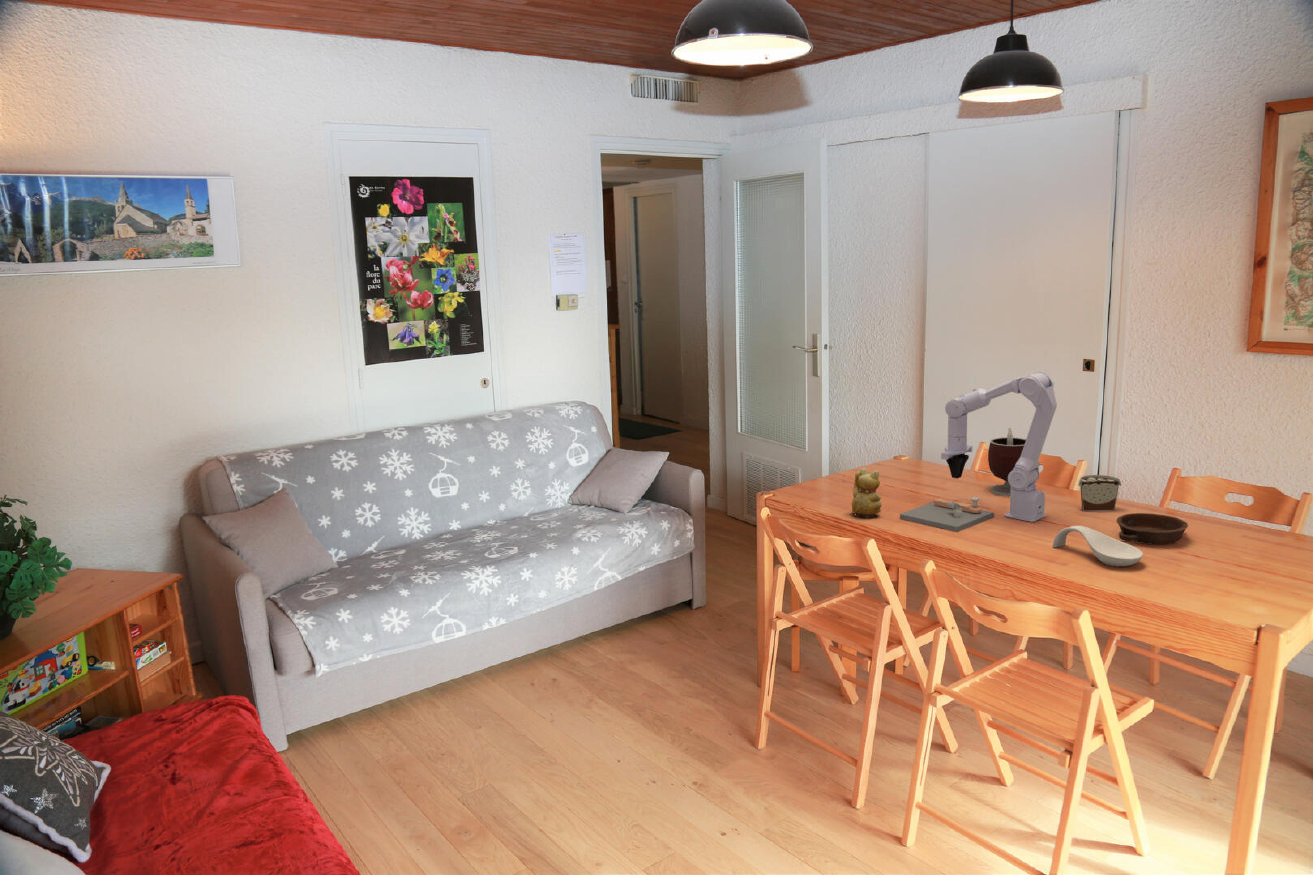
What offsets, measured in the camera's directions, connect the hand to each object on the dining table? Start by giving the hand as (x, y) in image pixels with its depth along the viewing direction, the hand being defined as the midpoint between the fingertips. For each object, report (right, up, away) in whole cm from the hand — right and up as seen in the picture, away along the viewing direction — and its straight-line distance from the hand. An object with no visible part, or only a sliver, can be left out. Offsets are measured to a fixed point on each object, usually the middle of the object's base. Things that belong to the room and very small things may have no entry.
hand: (956, 477), depth 298 cm
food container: (+41, -9, -7) cm, 42 cm away
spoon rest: (+21, -19, -50) cm, 57 cm away
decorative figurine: (-30, -12, -4) cm, 32 cm away
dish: (+43, -16, -37) cm, 58 cm away
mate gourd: (+23, -5, +17) cm, 29 cm away
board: (-6, -12, -10) cm, 17 cm away
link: (-2, -9, -7) cm, 12 cm away
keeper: (-5, -11, -13) cm, 17 cm away
